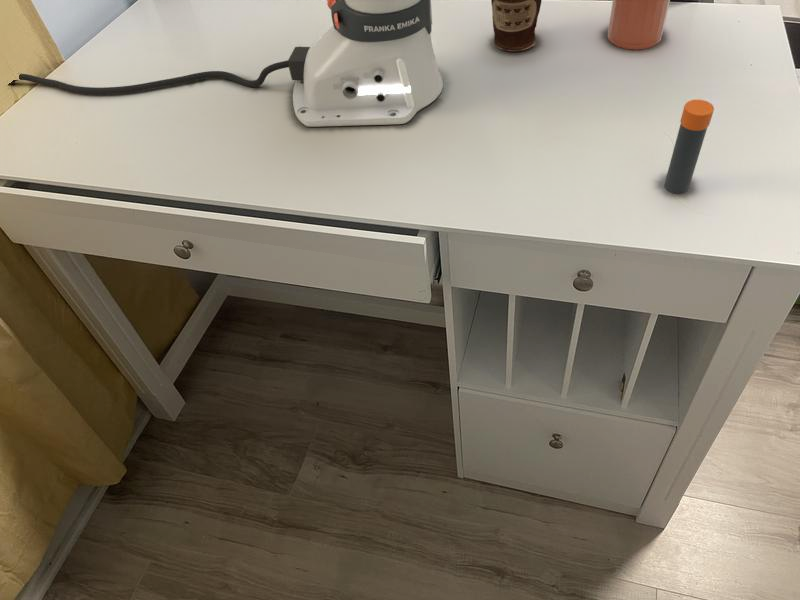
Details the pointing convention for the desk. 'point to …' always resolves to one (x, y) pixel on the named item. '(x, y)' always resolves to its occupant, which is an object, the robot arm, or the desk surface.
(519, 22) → the coffee cup
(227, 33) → the desk surface
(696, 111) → the marker
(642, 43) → the pen cup
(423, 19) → the robot arm
